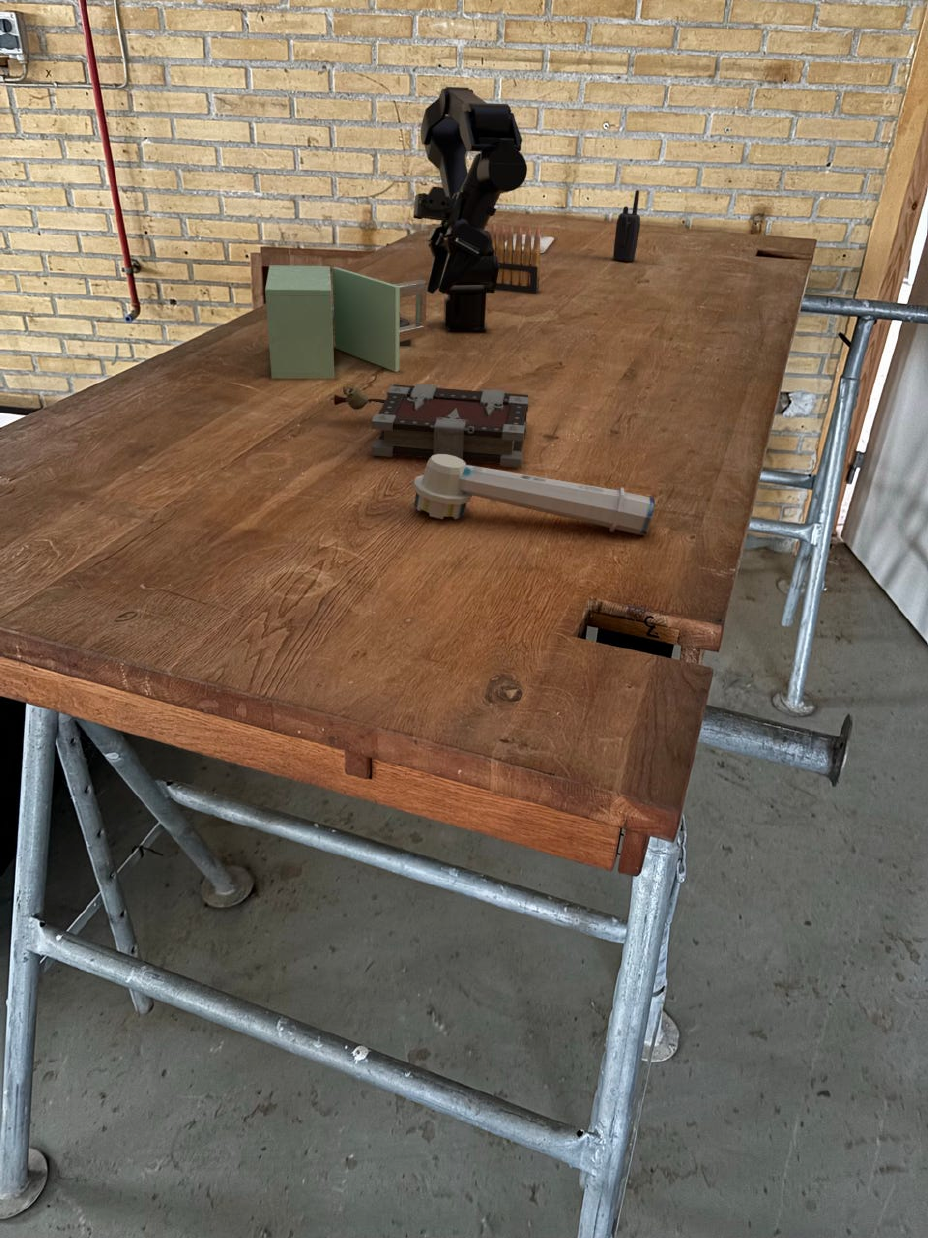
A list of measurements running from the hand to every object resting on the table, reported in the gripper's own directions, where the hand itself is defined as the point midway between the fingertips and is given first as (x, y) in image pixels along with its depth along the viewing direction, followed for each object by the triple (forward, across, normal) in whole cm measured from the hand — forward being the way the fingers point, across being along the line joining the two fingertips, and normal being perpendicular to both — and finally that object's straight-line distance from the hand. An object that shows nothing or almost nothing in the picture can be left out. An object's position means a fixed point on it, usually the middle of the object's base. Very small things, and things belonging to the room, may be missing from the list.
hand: (435, 292), depth 142 cm
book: (+19, +33, +1) cm, 38 cm away
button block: (+10, -9, -4) cm, 14 cm away
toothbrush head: (+21, +56, +10) cm, 60 cm away
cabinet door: (+12, 0, -3) cm, 13 cm away
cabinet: (+18, +2, -14) cm, 23 cm away
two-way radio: (-31, -64, +48) cm, 86 cm away
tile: (-25, -71, +32) cm, 82 cm away
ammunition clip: (-11, -40, +21) cm, 46 cm away
